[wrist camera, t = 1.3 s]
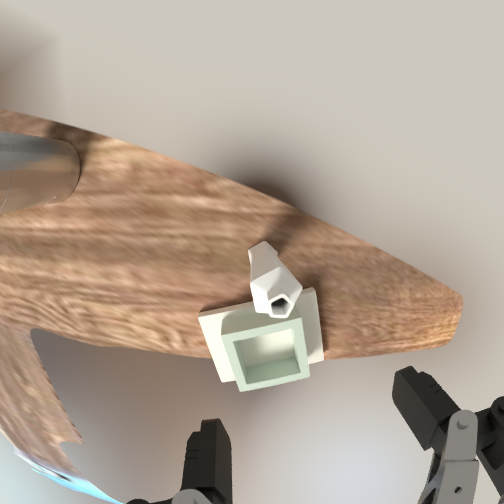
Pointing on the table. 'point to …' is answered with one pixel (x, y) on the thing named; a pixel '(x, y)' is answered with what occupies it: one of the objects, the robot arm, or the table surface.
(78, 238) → the table surface
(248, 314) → the stand
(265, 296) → the perfume bottle
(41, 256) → the table surface
